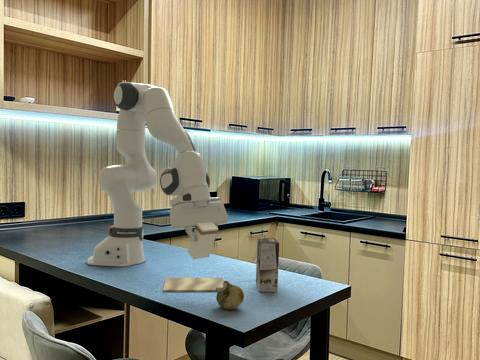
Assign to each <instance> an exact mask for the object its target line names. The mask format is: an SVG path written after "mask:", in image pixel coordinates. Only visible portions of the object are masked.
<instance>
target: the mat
mask: <svg viewBox="0 0 480 360" xmlns="http://www.w3.org/2000/svg"><path fill="white" fill-rule="evenodd" d="M224 281H225V280H224V277H165V280H164V284H163V288H162V292H163V293H169V292H170V293H176V292H178V293H181V292H184V293H185V292H186V293H191V292H192V293H194V292H195V293H196V292H197V293H198V292H200V293H201V292H204V293H205V292H206V293H208V292H217V293H218V291H216V287H220V288H221V287H223V284H222V283H224Z"/></svg>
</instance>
